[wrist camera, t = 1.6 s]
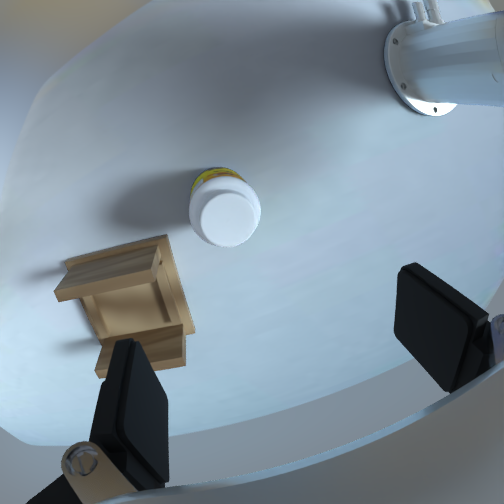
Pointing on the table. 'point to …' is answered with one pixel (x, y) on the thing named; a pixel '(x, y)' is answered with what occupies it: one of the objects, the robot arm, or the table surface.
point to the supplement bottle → (223, 207)
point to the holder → (132, 300)
